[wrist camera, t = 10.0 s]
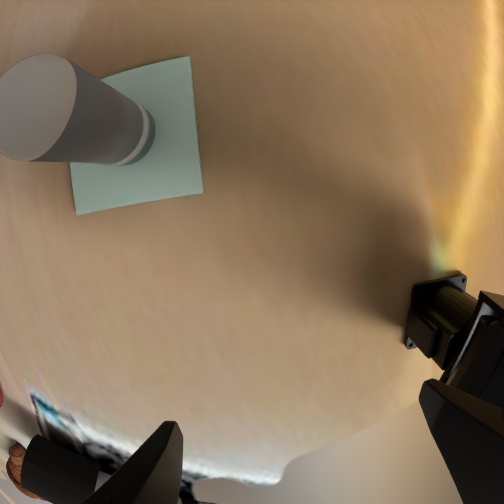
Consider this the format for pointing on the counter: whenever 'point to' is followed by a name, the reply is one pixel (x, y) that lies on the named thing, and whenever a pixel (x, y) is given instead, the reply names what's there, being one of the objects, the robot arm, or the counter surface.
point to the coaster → (162, 150)
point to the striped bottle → (63, 474)
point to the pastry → (17, 468)
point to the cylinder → (69, 116)
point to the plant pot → (1, 398)
